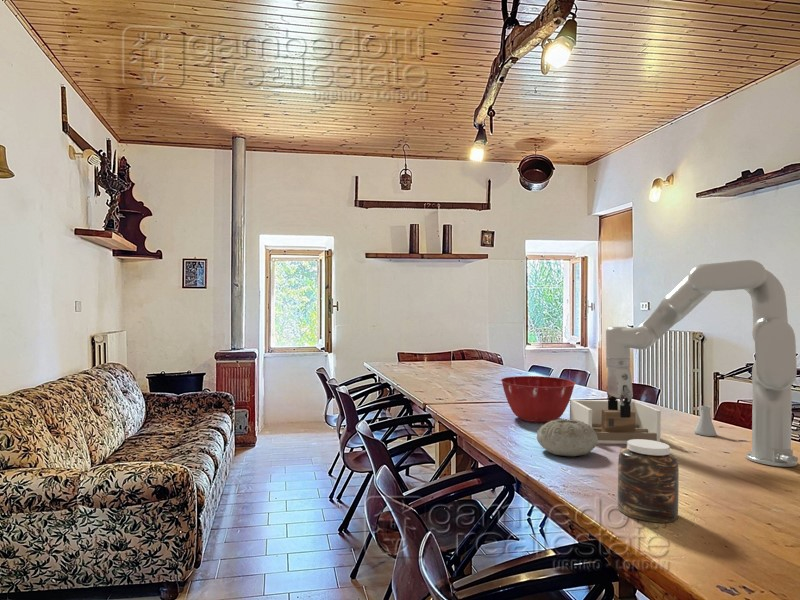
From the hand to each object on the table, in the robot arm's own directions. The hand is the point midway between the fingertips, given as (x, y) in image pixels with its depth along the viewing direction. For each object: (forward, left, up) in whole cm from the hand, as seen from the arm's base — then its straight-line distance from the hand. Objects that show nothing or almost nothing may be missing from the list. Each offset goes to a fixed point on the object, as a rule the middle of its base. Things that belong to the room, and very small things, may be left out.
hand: (619, 414), depth 180 cm
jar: (-62, +21, -9) cm, 66 cm away
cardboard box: (0, 0, -8) cm, 8 cm away
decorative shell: (-15, +23, -9) cm, 29 cm away
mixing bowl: (+33, +19, -9) cm, 39 cm away
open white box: (+6, 0, -9) cm, 11 cm away
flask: (+12, -36, -9) cm, 39 cm away
